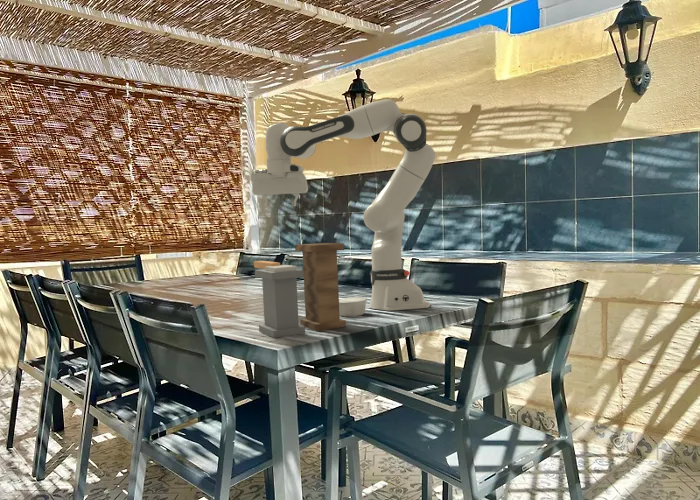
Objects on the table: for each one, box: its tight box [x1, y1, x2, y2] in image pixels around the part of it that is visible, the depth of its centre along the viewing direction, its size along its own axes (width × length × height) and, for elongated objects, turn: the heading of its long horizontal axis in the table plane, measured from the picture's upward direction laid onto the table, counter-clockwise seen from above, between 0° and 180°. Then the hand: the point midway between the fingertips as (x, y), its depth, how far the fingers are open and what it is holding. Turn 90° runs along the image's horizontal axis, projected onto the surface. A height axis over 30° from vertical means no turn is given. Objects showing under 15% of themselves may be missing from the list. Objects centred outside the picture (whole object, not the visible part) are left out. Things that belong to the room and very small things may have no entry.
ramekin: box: [339, 296, 368, 318], centre depth 191 cm, size 11×11×5 cm
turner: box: [253, 260, 298, 272], centre depth 169 cm, size 23×7×2 cm, turn 30°
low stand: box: [254, 268, 306, 339], centre depth 164 cm, size 14×10×19 cm
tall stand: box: [294, 242, 347, 332], centre depth 171 cm, size 14×10×26 cm
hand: (281, 206), depth 199 cm, fingers open, 8 cm apart
